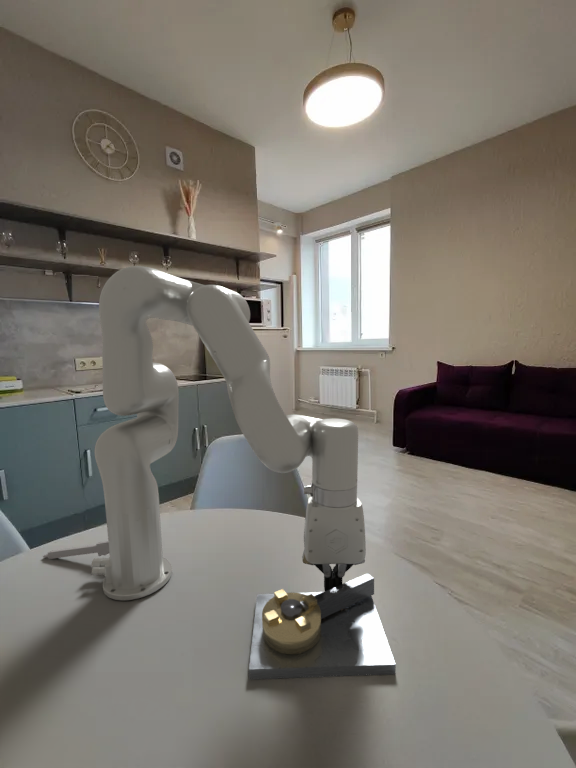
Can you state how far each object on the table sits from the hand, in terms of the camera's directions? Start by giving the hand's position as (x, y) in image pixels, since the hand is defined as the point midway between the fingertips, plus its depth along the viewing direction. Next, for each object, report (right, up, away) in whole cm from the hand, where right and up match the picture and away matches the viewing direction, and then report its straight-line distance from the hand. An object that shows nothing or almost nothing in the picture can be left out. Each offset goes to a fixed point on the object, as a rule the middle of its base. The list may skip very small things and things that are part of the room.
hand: (332, 593), depth 63 cm
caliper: (-52, -2, +15) cm, 54 cm away
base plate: (-3, -3, -6) cm, 7 cm away
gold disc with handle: (-2, -1, -4) cm, 5 cm away
